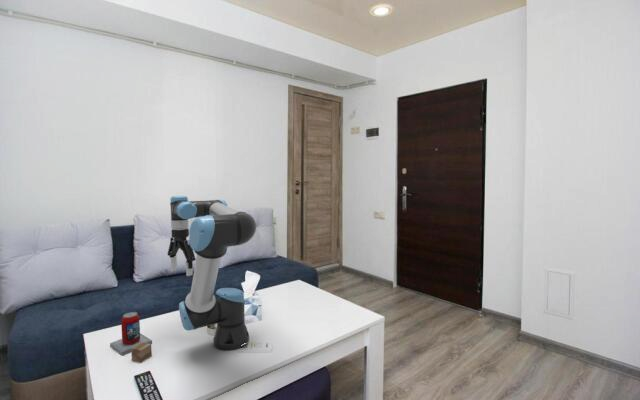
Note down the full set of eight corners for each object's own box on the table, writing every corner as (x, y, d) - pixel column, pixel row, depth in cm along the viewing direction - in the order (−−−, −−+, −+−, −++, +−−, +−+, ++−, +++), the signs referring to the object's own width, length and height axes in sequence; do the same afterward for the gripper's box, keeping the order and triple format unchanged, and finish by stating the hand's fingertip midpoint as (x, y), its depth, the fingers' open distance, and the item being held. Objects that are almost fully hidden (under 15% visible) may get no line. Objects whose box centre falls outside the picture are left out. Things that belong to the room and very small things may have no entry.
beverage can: (132, 346, 139) (130, 318, 138) (118, 344, 141) (117, 317, 140) (143, 338, 146) (142, 312, 145) (130, 337, 147) (129, 310, 146)
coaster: (152, 343, 144) (152, 340, 144) (122, 355, 135) (122, 351, 135) (139, 335, 152) (139, 332, 152) (110, 346, 142) (110, 342, 142)
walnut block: (151, 355, 135) (151, 344, 134) (141, 362, 130) (141, 350, 130) (142, 353, 136) (141, 342, 136) (131, 360, 132) (131, 348, 131)
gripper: (202, 230, 152) (203, 275, 154) (173, 225, 167) (175, 266, 169) (187, 232, 146) (189, 279, 148) (158, 227, 161) (160, 270, 163)
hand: (181, 272), depth 158 cm, fingers open, 13 cm apart
